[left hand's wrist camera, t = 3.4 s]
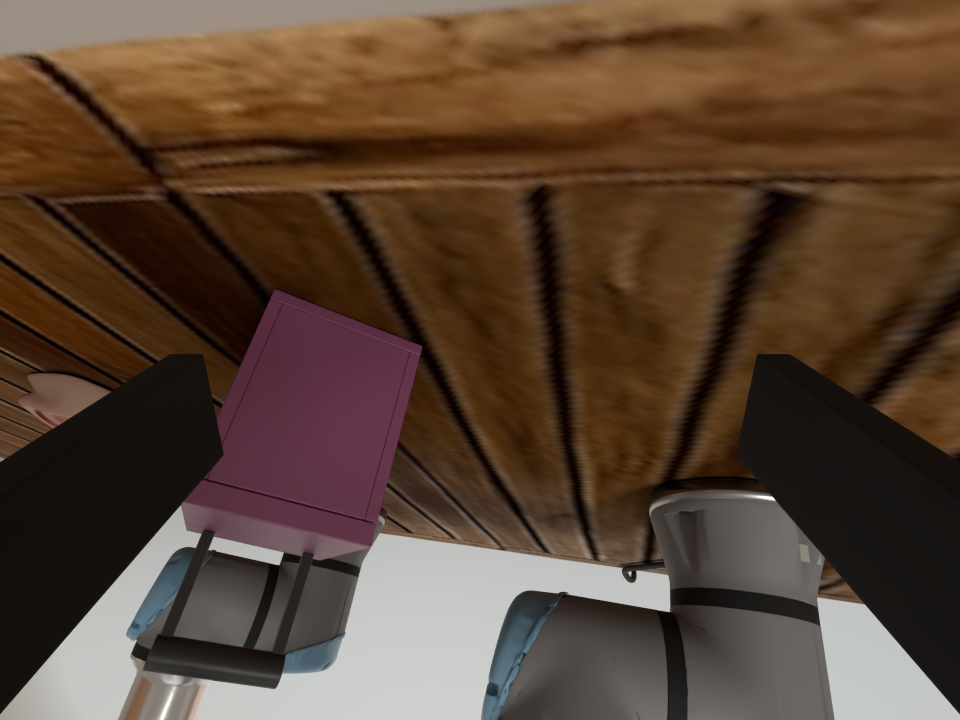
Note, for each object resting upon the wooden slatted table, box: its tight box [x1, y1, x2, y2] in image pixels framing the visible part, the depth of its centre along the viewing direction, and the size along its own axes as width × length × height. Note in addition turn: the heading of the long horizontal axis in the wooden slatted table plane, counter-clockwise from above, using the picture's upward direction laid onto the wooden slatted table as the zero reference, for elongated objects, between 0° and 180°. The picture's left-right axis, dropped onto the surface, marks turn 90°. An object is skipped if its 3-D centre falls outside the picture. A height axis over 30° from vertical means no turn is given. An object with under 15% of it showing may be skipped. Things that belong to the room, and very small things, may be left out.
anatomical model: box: [18, 373, 111, 428], centre depth 53 cm, size 13×4×12 cm
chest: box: [204, 289, 422, 523], centre depth 34 cm, size 13×9×11 cm
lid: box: [143, 479, 376, 689], centre depth 29 cm, size 14×9×9 cm
